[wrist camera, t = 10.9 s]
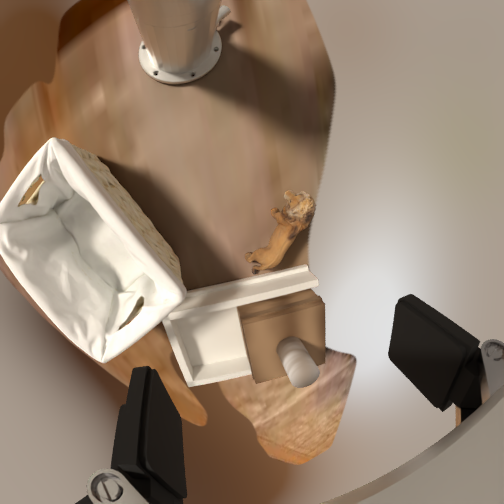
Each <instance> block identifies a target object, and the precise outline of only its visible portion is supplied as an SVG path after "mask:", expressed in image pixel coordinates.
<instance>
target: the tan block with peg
mask: <svg viewBox="0 0 504 504" xmlns="http://www.w3.org/2000/svg"><path fill="white" fill-rule="evenodd" d="M236 308H237V313H238V318H239V323H240V327H241V332H242V337H243V341H244V346H245V350H246V355H247V358H248V361H249V364H250V368H251V372H252V376H253V379H255V383H256V384H257V383H261V382H265V381H269V380H273V379H276V378H280V377H283V376H287V375H288V377H289V379H290V381H291V383H292V385H293V386H294V387H297V388H303V387H307V386H309V385H311V384H312V383H314V382H315V381H316V380H317V378H318V377H319V374H320V371H319V369H318V367H317V366H318V365H321V364H324V363H325V303H324V302H323V301H322V298H321V297H320V296H317V295H316V294H315V293H314V292H313V290H312V289H311V288H309V289H305V290H302V291H298V292H294V293H290V294H286V295H282V296H278V297H274V298H270V299H266V300H262V301H258V302H253V303H249V304H245V305H241V306H236Z"/></svg>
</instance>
